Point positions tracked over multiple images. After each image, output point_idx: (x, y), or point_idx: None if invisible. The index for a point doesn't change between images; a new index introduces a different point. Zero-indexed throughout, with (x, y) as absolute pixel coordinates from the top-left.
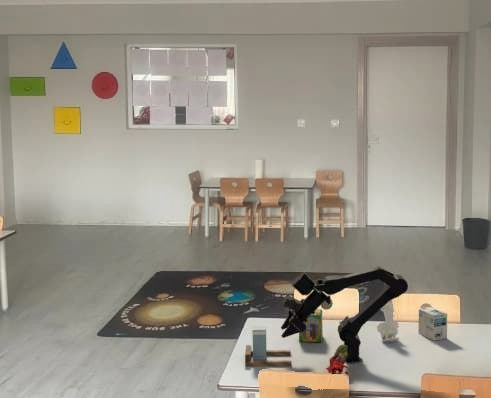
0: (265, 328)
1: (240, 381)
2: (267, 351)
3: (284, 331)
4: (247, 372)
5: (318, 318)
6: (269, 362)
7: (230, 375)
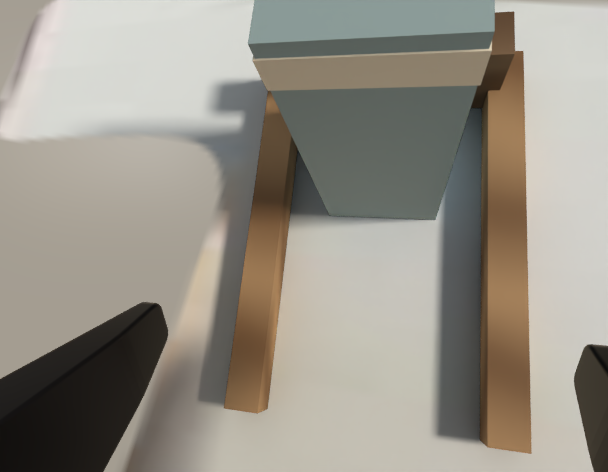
0: (326, 31)
1: (68, 69)
2: (493, 219)
3: (66, 353)
4: (178, 97)
5: None
6: (250, 227)
7: (156, 13)
